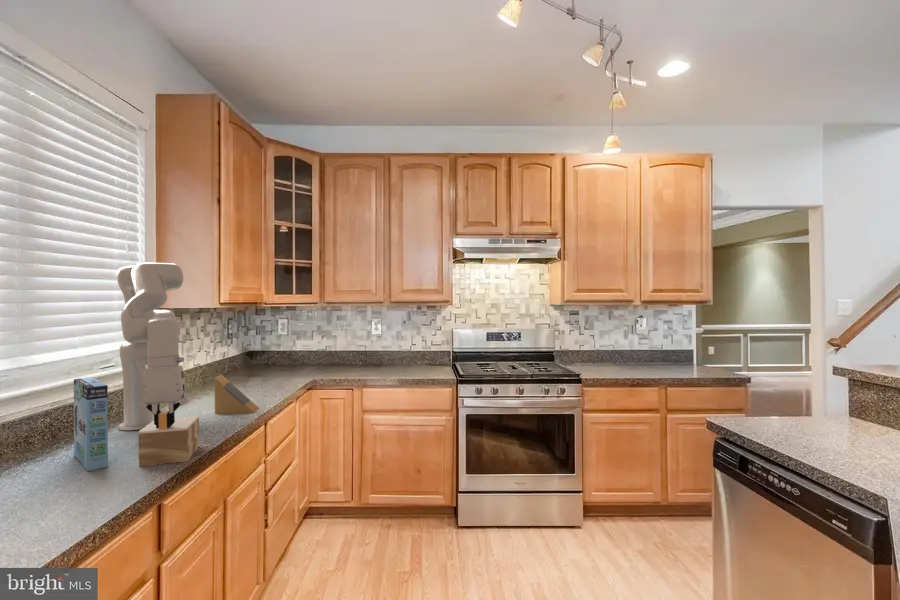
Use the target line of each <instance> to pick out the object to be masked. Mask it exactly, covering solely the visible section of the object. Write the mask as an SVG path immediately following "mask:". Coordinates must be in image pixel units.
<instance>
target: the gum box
mask: <svg viewBox="0 0 900 600" xmlns="http://www.w3.org/2000/svg"><path fill="white" fill-rule="evenodd" d="M108 386H109V385H108V384H106V383H104V382H102V381H100V380H99V379H97V378H94V377H93V376H91V377H90V376H89V377H83V378H75V379H73V455H74V458H76V459H77V460H78V462H79V463H80V464H81V465H82V467H83V468H84V469H85V471H86V472H87V473H88V472H93V471H97V469H98V470H101V469H106V468H108V467H109V454H108V453H109V452H108V451H109V450H108V449H109V448H108V445H109V436H108V435H109V434H108V433H109V432H108V429H109V428H108V427H109V426H108V425H109V424H108V423H109V422H108V420H109V418H108V417H109V416H108V414H109V413H108V409H109V407H108V400H109V399H108V392H109V391H108V390H109V389H108V388H109V387H108Z"/></svg>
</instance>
